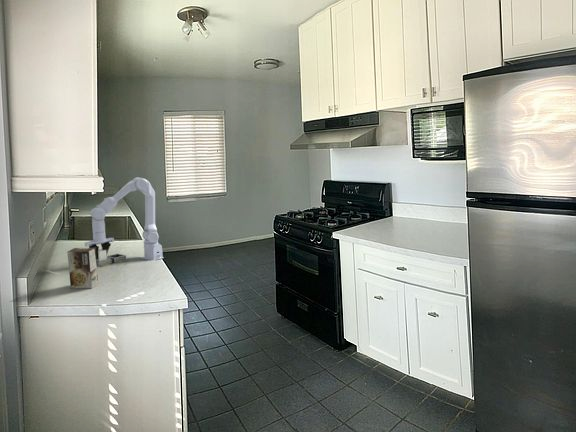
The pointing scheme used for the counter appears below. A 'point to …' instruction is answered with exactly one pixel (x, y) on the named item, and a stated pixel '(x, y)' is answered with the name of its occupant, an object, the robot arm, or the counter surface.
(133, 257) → the counter surface
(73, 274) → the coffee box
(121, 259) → the panel
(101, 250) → the plug
